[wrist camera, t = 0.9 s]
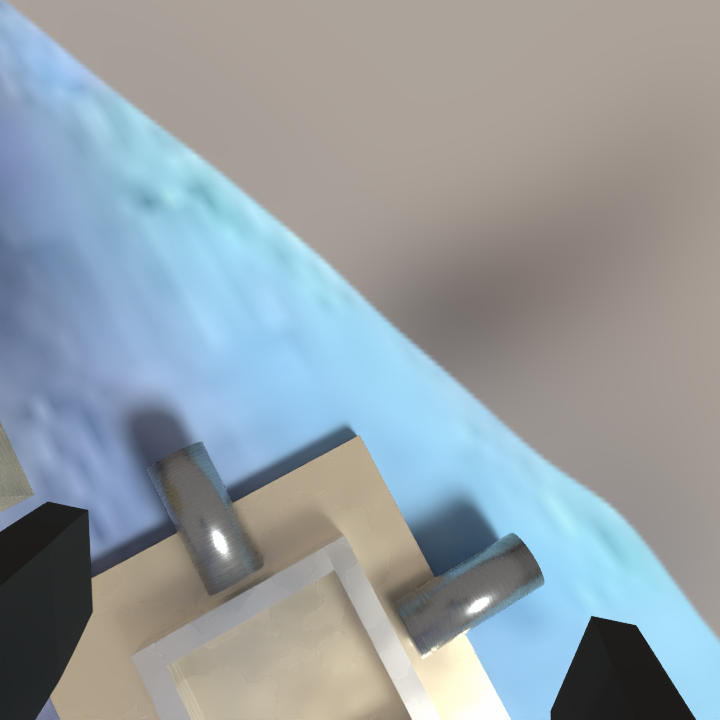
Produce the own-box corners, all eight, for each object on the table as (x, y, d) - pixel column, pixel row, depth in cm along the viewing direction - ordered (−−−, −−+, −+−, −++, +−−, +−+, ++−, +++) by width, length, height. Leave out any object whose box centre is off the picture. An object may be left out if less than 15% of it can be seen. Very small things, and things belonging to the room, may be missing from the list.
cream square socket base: (192, 987, 22) (181, 1054, 20) (-8, 554, 24) (-43, 563, 21) (600, 717, 25) (636, 744, 22) (398, 345, 26) (410, 331, 24)
